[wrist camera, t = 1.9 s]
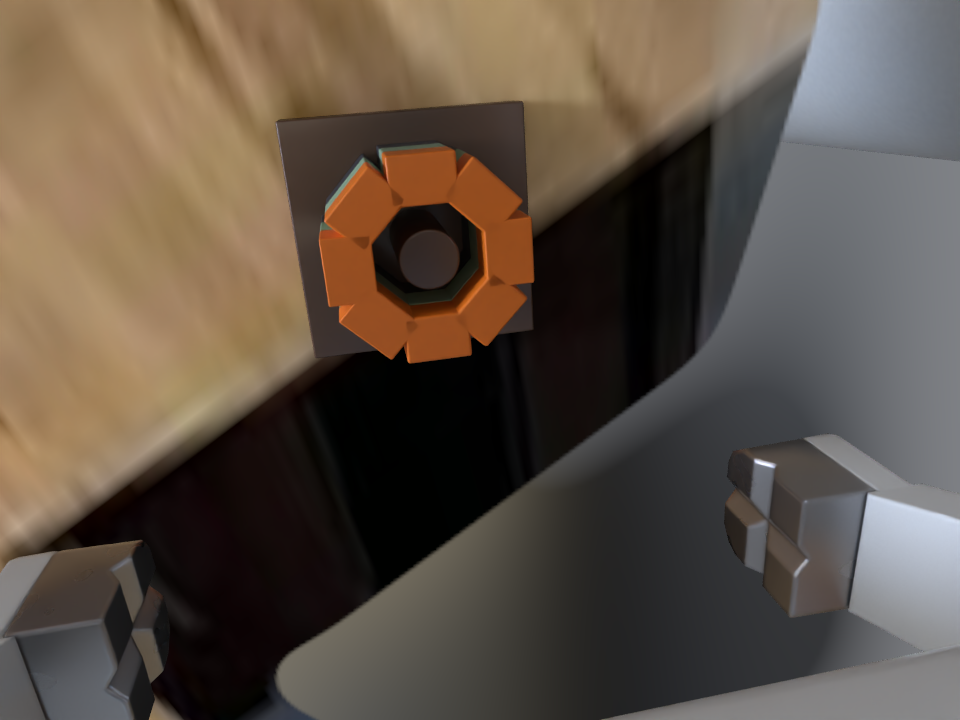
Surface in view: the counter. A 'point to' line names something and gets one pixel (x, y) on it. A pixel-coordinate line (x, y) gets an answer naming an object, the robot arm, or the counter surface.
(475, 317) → the orange ring
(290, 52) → the counter surface
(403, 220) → the spindle
